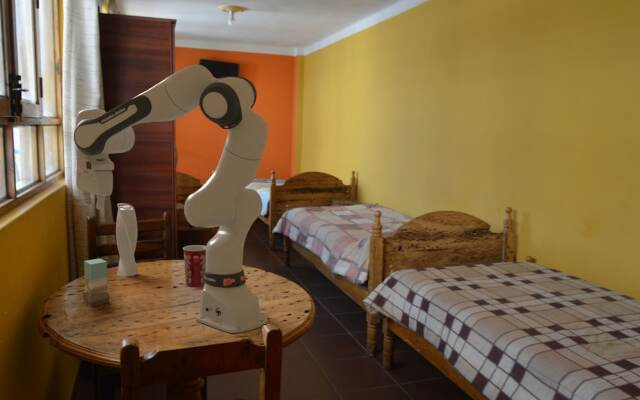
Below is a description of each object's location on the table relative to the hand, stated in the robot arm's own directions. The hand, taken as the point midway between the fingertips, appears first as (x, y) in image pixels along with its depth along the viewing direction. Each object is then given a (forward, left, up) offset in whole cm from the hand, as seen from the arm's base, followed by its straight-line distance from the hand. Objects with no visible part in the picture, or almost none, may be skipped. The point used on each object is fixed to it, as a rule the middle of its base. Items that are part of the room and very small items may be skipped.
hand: (93, 206), depth 155 cm
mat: (0, 0, -31) cm, 31 cm away
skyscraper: (+23, -20, -31) cm, 44 cm away
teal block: (0, 0, -22) cm, 22 cm away
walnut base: (0, 0, -30) cm, 30 cm away
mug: (-3, -34, -31) cm, 46 cm away
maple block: (0, 0, -27) cm, 27 cm away
